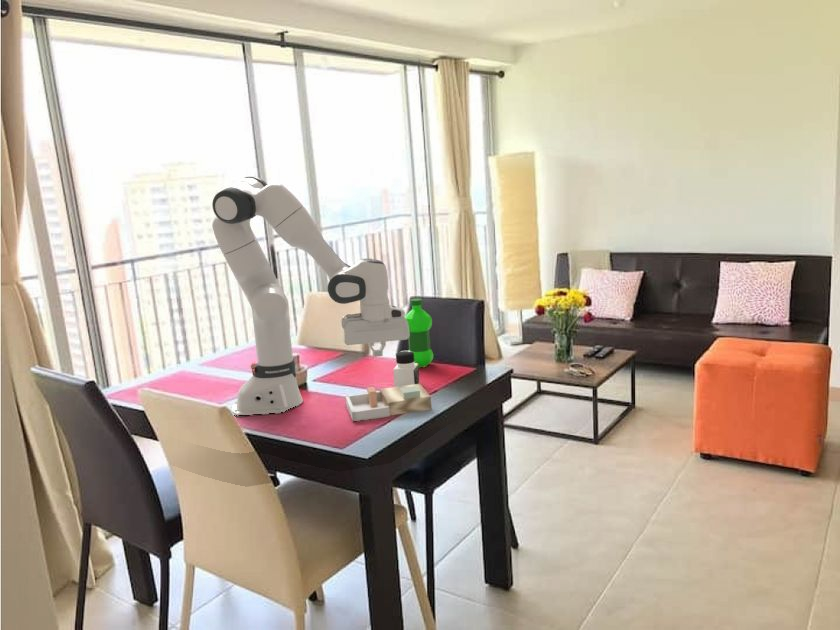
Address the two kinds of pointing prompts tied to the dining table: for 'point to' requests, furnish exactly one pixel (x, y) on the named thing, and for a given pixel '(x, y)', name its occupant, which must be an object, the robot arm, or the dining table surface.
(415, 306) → the plastic bottle
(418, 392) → the sage tile
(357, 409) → the grey box
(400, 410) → the birch block
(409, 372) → the medicine bottle
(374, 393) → the terracotta tile
